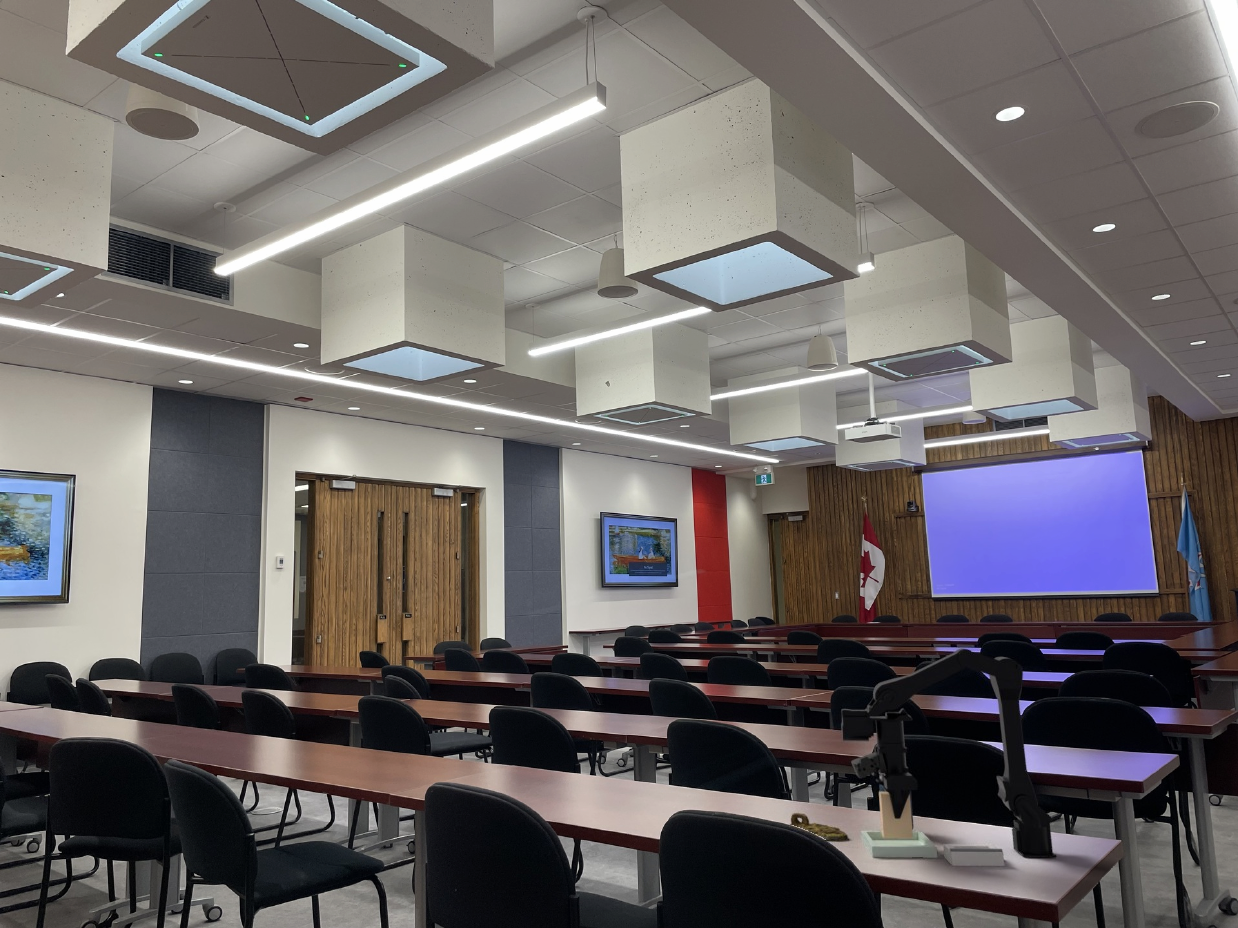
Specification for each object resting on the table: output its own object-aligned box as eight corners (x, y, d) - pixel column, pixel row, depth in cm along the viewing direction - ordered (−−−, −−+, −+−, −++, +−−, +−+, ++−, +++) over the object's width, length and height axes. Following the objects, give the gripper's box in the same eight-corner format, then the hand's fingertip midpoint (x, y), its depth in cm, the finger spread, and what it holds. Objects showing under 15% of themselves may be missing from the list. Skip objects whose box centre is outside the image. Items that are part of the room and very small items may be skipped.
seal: (857, 841, 195) (799, 831, 205) (857, 819, 196) (799, 810, 206) (838, 845, 189) (778, 834, 198) (838, 822, 190) (779, 812, 199)
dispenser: (994, 857, 177) (992, 841, 177) (1004, 865, 171) (1003, 849, 171) (944, 856, 178) (942, 841, 178) (952, 865, 172) (951, 849, 172)
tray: (921, 840, 190) (921, 830, 190) (937, 857, 177) (936, 846, 177) (861, 840, 191) (860, 830, 191) (872, 856, 178) (871, 846, 179)
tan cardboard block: (910, 835, 185) (907, 791, 187) (913, 838, 183) (909, 793, 185) (881, 835, 186) (878, 791, 188) (884, 838, 184) (881, 793, 185)
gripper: (846, 735, 198) (850, 807, 195) (860, 748, 179) (865, 827, 177) (896, 735, 197) (901, 807, 194) (915, 748, 178) (921, 827, 176)
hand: (896, 816), depth 185 cm, fingers closed on tan cardboard block, 2 cm apart
